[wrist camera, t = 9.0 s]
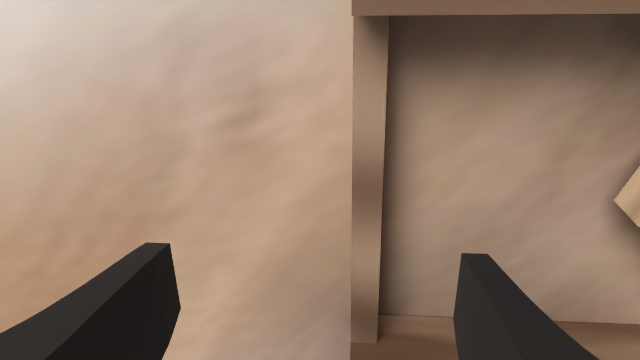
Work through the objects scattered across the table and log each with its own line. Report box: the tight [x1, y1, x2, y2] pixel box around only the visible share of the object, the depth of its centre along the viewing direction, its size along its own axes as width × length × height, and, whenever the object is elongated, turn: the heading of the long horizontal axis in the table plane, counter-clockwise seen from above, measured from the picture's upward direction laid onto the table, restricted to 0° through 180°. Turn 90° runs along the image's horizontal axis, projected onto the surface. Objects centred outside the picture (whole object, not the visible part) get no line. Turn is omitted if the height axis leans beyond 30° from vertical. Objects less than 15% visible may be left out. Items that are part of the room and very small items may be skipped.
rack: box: [350, 0, 640, 360], centre depth 20 cm, size 17×14×4 cm
